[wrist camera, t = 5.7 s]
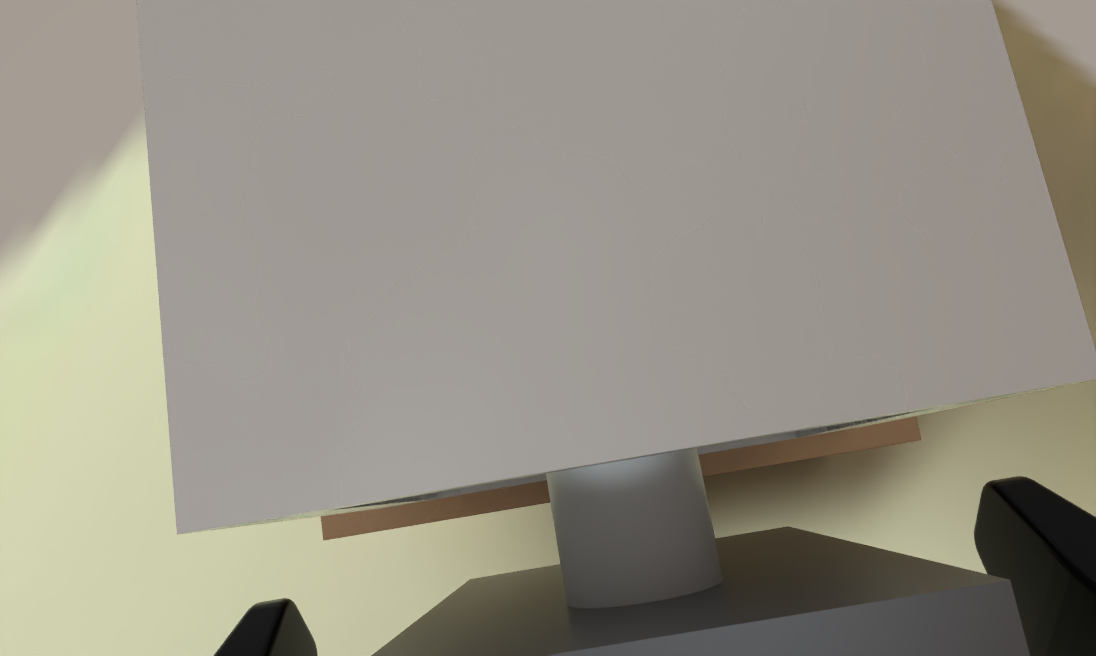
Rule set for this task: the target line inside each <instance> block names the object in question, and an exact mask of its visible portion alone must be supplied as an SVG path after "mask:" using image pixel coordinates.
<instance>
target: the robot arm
mask: <svg viewBox="0 0 1096 656" xmlns="http://www.w3.org/2000/svg"><path fill="white" fill-rule="evenodd" d="M974 539H975V545H976V548H977V551H978V554H979V556H980V559H981V561H982V563H983V565H984V568H985V570H986V572H987V574H988V575H992V576H996V577H1000V578H1005V579H1009V580H1010V581H1011V585H1012V589H1013V592H1014V596H1015V600H1016V604H1017V608H1018V611H1019V615H1020V619H1021V623H1022V627H1023V631H1024V634H1025V638H1026V642H1027V646H1028V650H1029V653H1030V656H1096V517H1095V516H1093V515H1091V514H1090V513H1088V512H1086V511H1085V510H1083V509H1081V508H1080V507H1078V506H1076V505H1075V504H1073V503H1071V502H1069V501H1068V500H1066V499H1064V498H1063V497H1061V496H1059V495H1058V494H1056V493H1054V492H1053V491H1051V490H1049V489H1047V488H1046V487H1044V486H1042V485H1041V484H1039V483H1037V482H1036V481H1034V480H1032V479H1030V478H1027V477H1022V476H1018V477H1011V478H1005V479H999V480H993V481H990V482H987V483H986V485H985V486H984V487H983V490H982V493H981V498H980V503H979V509H978V514H977V519H976V524H975V529H974ZM214 656H317V648H316V644H315V641H314V639H313V637H312V635H311V633H310V631H309V629H308V627H307V625H306V624H305V622H304V620H303V618H302V616H301V614H300V612H299V610H298V608H297V606H296V605H295V603H294V602H293V601H292V600H290V599H286V598H283V599H277V600H271V601H265V602H260V603H257V604H255V605H253V606H252V607H251V608H250V609H249V610H248V611H247V612H246V614H245V615H244V616H243V617H242V619H241V620H240V621H239V623H238V624H237V625H236V627H235V628H234V629H233V631H232V632H231V633H230V635H229V636H228V637H227V639H226V640H225V641H224V643H223V644H222V645H221V647H220V648H219V649H218V650H217V652H216V653H215V654H214Z"/></svg>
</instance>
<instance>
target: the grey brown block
mask: <svg viewBox="0 0 1096 656" xmlns="http://www.w3.org/2000/svg"><path fill="white" fill-rule="evenodd" d="M136 5H137V18H138V31H139V43H140V57H141V69H142V83H143V95H144V109H145V122H146V135H147V148H148V161H149V174H150V187H151V200H152V213H153V226H154V240H155V253H156V266H157V279H158V292H159V305H160V318H161V331H162V344H163V357H164V370H165V383H166V396H167V409H168V422H169V435H170V448H171V461H172V474H173V487H174V500H175V513H176V526H177V534H185V533H192V532H200V531H208V530H216V529H224V528H232V527H240V526H247V525H255V524H263V523H271V522H279V521H287V520H295V519H302V518H310V517H318V516H321V522H322V531H323V540H329V539H335V538H341V537H347V536H353V535H359V534H364V533H370V532H376V531H382V530H388V529H394V528H400V527H406V526H412V525H418V524H424V523H430V522H436V521H442V520H448V519H454V518H460V517H466V516H472V515H477V514H483V513H489V512H495V511H501V510H507V509H513V508H519V507H525V506H531V505H537V504H543V503H549V502H550V495H549V489H548V483H547V477H546V474H547V473H553V472H559V471H565V470H571V469H577V468H582V467H588V466H594V465H600V464H606V463H612V462H618V461H624V460H630V459H636V458H642V457H647V456H653V455H659V454H665V453H671V452H677V451H683V450H689V449H695V448H697V451H698V456H699V461H700V466H701V471H702V476H703V477H704V476H709V475H715V474H721V473H727V472H733V471H739V470H745V469H751V468H757V467H763V466H769V465H775V464H781V463H787V462H793V461H799V460H805V459H811V458H817V457H822V456H828V455H834V454H840V453H846V452H852V451H858V450H864V449H870V448H876V447H882V446H888V445H894V444H900V443H906V442H912V441H918V440H921V436H920V432H919V428H918V424H917V420H916V416H918V415H923V414H928V413H933V412H938V411H943V410H948V409H953V408H958V407H963V406H967V405H972V404H977V403H982V402H987V401H992V400H997V399H1002V398H1007V397H1012V396H1016V395H1021V394H1026V393H1031V392H1036V391H1041V390H1046V389H1051V388H1056V387H1061V386H1065V385H1070V384H1075V383H1080V382H1085V381H1090V380H1095V379H1096V350H1095V346H1094V343H1093V340H1092V336H1091V333H1090V329H1089V326H1088V323H1087V319H1086V316H1085V313H1084V309H1083V306H1082V302H1081V299H1080V296H1079V292H1078V289H1077V286H1076V282H1075V279H1074V276H1073V272H1072V269H1071V265H1070V262H1069V259H1068V255H1067V252H1066V249H1065V245H1064V242H1063V238H1062V235H1061V232H1060V228H1059V225H1058V222H1057V218H1056V215H1055V212H1054V208H1053V205H1052V201H1051V198H1050V195H1049V191H1048V188H1047V185H1046V181H1045V178H1044V174H1043V171H1042V168H1041V164H1040V161H1039V158H1038V154H1037V151H1036V148H1035V144H1034V141H1033V137H1032V134H1031V131H1030V127H1029V124H1028V121H1027V117H1026V114H1025V110H1024V107H1023V104H1022V100H1021V97H1020V94H1019V90H1018V87H1017V84H1016V80H1015V77H1014V73H1013V70H1012V67H1011V63H1010V60H1009V57H1008V53H1007V50H1006V46H1005V43H1004V40H1003V36H1002V33H1001V30H1000V26H999V23H998V20H997V16H996V13H995V9H994V6H993V3H992V0H136Z"/></svg>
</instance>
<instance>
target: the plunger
mask: <svg viewBox="0 0 1096 656" xmlns="http://www.w3.org/2000/svg"><path fill="white" fill-rule="evenodd" d="M546 477H547V483H548V489H549V495H550V502H551V508H552V514H553V520H554V526H555V532H556V539H557V545H558V551H559V557H560V563H561V564H559V565H553V566H547V567H541V568H535V569H529V570H523V571H517V572H511V573H505V574H499V575H493V576H487V577H481V578H475V579H470V580H469V581H467V582H466V583H465V584H464V585H462V586H461V587H460V588H458V589H457V590H456V591H455V592H453V593H452V594H451V595H449V596H448V597H447V598H445V599H444V600H443V601H442V602H440V603H439V604H438V605H436V606H435V607H434V608H433V609H431V610H430V611H429V612H427V613H426V614H425V615H423V616H422V617H421V618H420V619H418V620H417V621H416V622H414V623H413V624H412V625H411V626H409V627H408V628H407V629H405V630H404V631H403V632H401V633H400V634H399V635H398V636H396V637H395V638H394V639H392V640H391V641H390V642H389V643H387V644H386V645H385V646H383V647H382V648H381V649H379V650H378V651H377V652H376V653H374V654H373V655H372V656H1030V653H1029V650H1028V646H1027V642H1026V638H1025V634H1024V631H1023V627H1022V623H1021V619H1020V615H1019V611H1018V608H1017V604H1016V600H1015V596H1014V592H1013V589H1012V585H1011V581H1010V580H1009V579H1005V578H1000V577H996V576H992V575H988V574H984V573H980V572H975V571H971V570H967V569H963V568H959V567H955V566H950V565H946V564H942V563H938V562H934V561H929V560H925V559H921V558H917V557H913V556H909V555H904V554H900V553H896V552H892V551H888V550H884V549H879V548H875V547H871V546H867V545H863V544H859V543H854V542H850V541H846V540H842V539H838V538H834V537H829V536H825V535H821V534H817V533H813V532H809V531H804V530H800V529H796V528H792V527H782V528H776V529H770V530H764V531H758V532H752V533H746V534H740V535H734V536H728V537H722V538H716V539H715V536H714V531H713V526H712V521H711V516H710V511H709V506H708V501H707V496H706V491H705V486H704V481H703V476H702V471H701V466H700V461H699V456H698V451H697V448H695V449H689V450H683V451H677V452H671V453H665V454H659V455H653V456H647V457H642V458H636V459H630V460H624V461H618V462H612V463H606V464H600V465H594V466H588V467H582V468H577V469H571V470H565V471H559V472H553V473H547V474H546Z"/></svg>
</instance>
